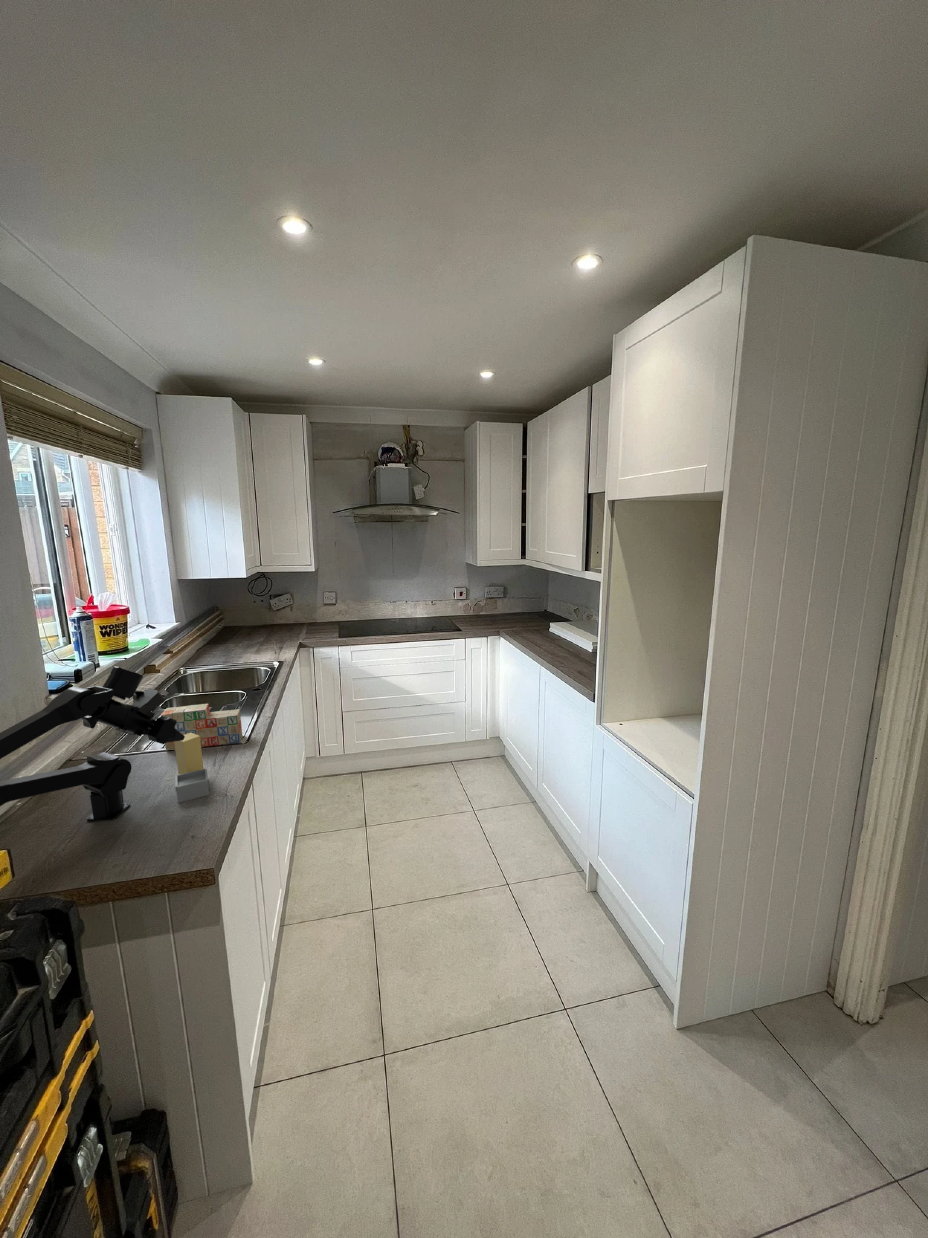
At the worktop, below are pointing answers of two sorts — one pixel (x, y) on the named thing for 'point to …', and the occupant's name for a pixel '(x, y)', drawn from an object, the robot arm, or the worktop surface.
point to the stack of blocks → (206, 724)
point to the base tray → (192, 785)
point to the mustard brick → (189, 754)
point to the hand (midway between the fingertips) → (172, 735)
